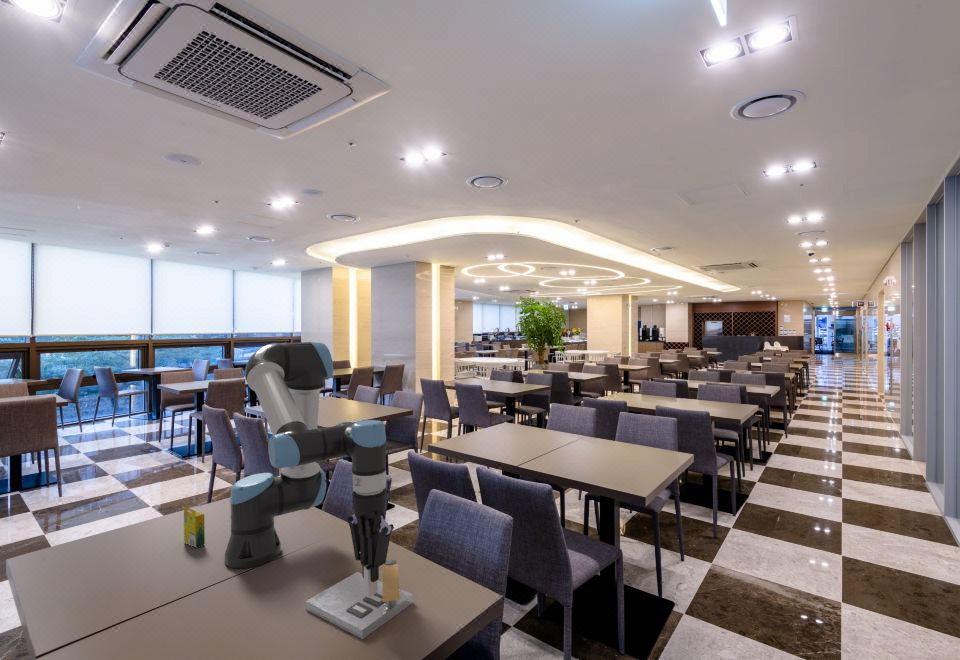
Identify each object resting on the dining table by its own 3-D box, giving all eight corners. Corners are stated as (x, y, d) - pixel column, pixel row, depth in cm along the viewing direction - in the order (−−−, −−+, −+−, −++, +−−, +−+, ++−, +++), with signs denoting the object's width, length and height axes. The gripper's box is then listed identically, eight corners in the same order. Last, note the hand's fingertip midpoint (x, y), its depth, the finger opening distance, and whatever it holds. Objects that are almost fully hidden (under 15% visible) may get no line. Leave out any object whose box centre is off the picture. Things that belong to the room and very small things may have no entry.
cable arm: (383, 566, 115) (382, 560, 115) (397, 565, 116) (397, 558, 116) (382, 602, 100) (382, 594, 100) (399, 599, 101) (399, 592, 101)
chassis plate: (305, 609, 110) (305, 601, 110) (357, 579, 123) (357, 571, 123) (362, 639, 99) (362, 630, 99) (412, 602, 112) (412, 594, 112)
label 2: (363, 600, 110) (362, 598, 110) (373, 593, 113) (373, 591, 113) (377, 606, 107) (377, 605, 107) (388, 599, 110) (388, 597, 110)
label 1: (346, 610, 106) (346, 609, 106) (358, 603, 109) (358, 601, 109) (361, 617, 103) (361, 616, 103) (372, 610, 106) (372, 608, 106)
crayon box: (205, 545, 146) (204, 508, 146) (195, 548, 143) (194, 511, 143) (193, 539, 150) (193, 504, 150) (183, 543, 147) (183, 506, 147)
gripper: (337, 489, 105) (338, 592, 105) (377, 500, 97) (378, 611, 97) (362, 480, 111) (363, 577, 111) (402, 490, 104) (403, 594, 104)
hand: (370, 593), depth 104 cm, fingers closed
